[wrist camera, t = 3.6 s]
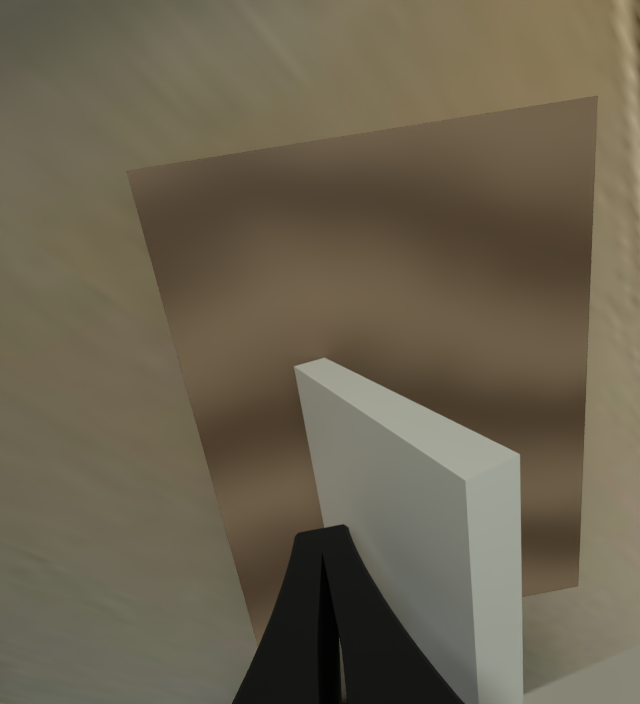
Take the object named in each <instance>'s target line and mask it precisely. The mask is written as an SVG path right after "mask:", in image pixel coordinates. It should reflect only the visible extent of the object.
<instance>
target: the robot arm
mask: <svg viewBox="0 0 640 704" xmlns="http://www.w3.org/2000/svg"><path fill="white" fill-rule="evenodd" d="M339 638H340V643H341V648H342V655H343V664H344V674H345V683H346V692H347V702H348V704H465V703H464V702H463V701H462V700H461V699H460V698H459V696H458V695H457V694H456V693H455V692H454V691H453V689H452V688H451V687H450V686H449V685H448V683H447V682H446V681H445V680H444V679H443V677H442V676H441V675H440V674H439V672H438V671H437V670H436V669H435V668H434V666H433V665H432V664H431V662H430V661H429V660H428V659H427V657H426V656H425V655H424V654H423V652H422V651H421V650H420V648H419V647H418V646H417V644H416V643H415V642H414V640H413V639H412V638H411V636H410V635H409V634H408V632H407V631H406V629H405V628H404V627H403V625H402V624H401V622H400V621H399V619H398V618H397V616H396V615H395V614H394V612H393V611H392V609H391V608H390V606H389V605H388V603H387V601H386V600H385V598H384V597H383V595H382V594H381V592H380V590H379V589H378V587H377V585H376V584H375V582H374V580H373V579H372V577H371V575H370V574H369V572H368V570H367V568H366V567H365V565H364V563H363V561H362V559H361V557H360V555H359V553H358V551H357V549H356V547H355V544H354V542H353V540H352V537H351V534H350V531H349V527H347V526H346V525H344V524H342V525H336V526H331V527H326V528H320V529H315V530H310V531H304V532H299V533H297V535H296V536H295V538H294V543H293V548H292V552H291V556H290V560H289V563H288V567H287V570H286V573H285V577H284V580H283V583H282V586H281V589H280V592H279V594H278V597H277V600H276V603H275V606H274V609H273V612H272V614H271V617H270V619H269V622H268V624H267V627H266V629H265V632H264V634H263V636H262V639H261V641H260V644H259V646H258V649H257V651H256V653H255V656H254V658H253V660H252V662H251V665H250V667H249V669H248V671H247V673H246V676H245V678H244V680H243V682H242V684H241V686H240V688H239V690H238V692H237V694H236V696H235V698H234V700H233V702H232V704H342V695H341V673H340V652H339Z"/></svg>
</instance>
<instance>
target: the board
mask: <svg viewBox="0 0 640 704" xmlns="http://www.w3.org/2000/svg"><path fill="white" fill-rule="evenodd" d="M597 101H598V96H593V97H587V98H581V99H574V100H568V101H562V102H556V103H549V104H543V105H537V106H530V107H524V108H518V109H512V110H505V111H499V112H493V113H486V114H480V115H474V116H468V117H461V118H455V119H449V120H443V121H436V122H430V123H424V124H417V125H411V126H405V127H399V128H392V129H386V130H380V131H374V132H367V133H361V134H355V135H348V136H342V137H336V138H330V139H323V140H317V141H311V142H304V143H298V144H292V145H286V146H279V147H273V148H267V149H261V150H254V151H248V152H242V153H235V154H229V155H223V156H217V157H210V158H204V159H198V160H192V161H185V162H179V163H173V164H166V165H160V166H154V167H148V168H141V169H135V170H129V171H126V172H127V175H128V179H129V182H130V186H131V190H132V193H133V197H134V201H135V204H136V208H137V211H138V215H139V219H140V222H141V226H142V229H143V233H144V237H145V240H146V244H147V247H148V251H149V255H150V258H151V262H152V266H153V269H154V273H155V276H156V280H157V284H158V287H159V291H160V294H161V298H162V302H163V305H164V309H165V312H166V316H167V320H168V323H169V327H170V331H171V334H172V338H173V341H174V345H175V349H176V352H177V356H178V359H179V363H180V367H181V370H182V374H183V377H184V381H185V385H186V388H187V392H188V396H189V399H190V403H191V406H192V410H193V414H194V417H195V421H196V424H197V428H198V432H199V435H200V439H201V442H202V446H203V450H204V453H205V457H206V461H207V464H208V468H209V471H210V475H211V479H212V482H213V486H214V489H215V493H216V497H217V500H218V504H219V507H220V511H221V515H222V518H223V522H224V526H225V529H226V533H227V536H228V540H229V544H230V547H231V551H232V554H233V558H234V562H235V565H236V569H237V572H238V576H239V580H240V583H241V587H242V591H243V594H244V598H245V601H246V605H247V609H248V612H249V616H250V619H251V623H252V627H253V630H254V634H255V638H256V641H257V645H258V646H259V644H260V641H261V639H262V636H263V634H264V632H265V629H266V627H267V624H268V622H269V619H270V617H271V614H272V612H273V609H274V606H275V603H276V600H277V597H278V594H279V592H280V589H281V586H282V583H283V580H284V577H285V573H286V570H287V567H288V563H289V560H290V556H291V552H292V548H293V543H294V538H295V536H296V535H297V533H299V532H304V531H310V530H315V529H320V528H324V524H323V518H322V513H321V508H320V502H319V497H318V492H317V486H316V481H315V476H314V471H313V465H312V460H311V455H310V449H309V444H308V439H307V433H306V428H305V423H304V417H303V412H302V407H301V402H300V396H299V391H298V386H297V380H296V375H295V370H294V366H297V365H300V364H304V363H307V362H311V361H314V360H318V359H321V358H326V359H328V360H330V361H332V362H334V363H336V364H339V365H341V366H343V367H345V368H347V369H349V370H351V371H353V372H355V373H357V374H359V375H361V376H363V377H365V378H367V379H369V380H371V381H373V382H375V383H377V384H379V385H381V386H383V387H385V388H387V389H389V390H391V391H393V392H395V393H397V394H399V395H401V396H403V397H405V398H407V399H409V400H411V401H413V402H415V403H417V404H420V405H422V406H424V407H426V408H428V409H430V410H432V411H434V412H436V413H438V414H440V415H442V416H444V417H446V418H448V419H450V420H452V421H454V422H456V423H458V424H460V425H462V426H464V427H466V428H468V429H470V430H472V431H474V432H476V433H478V434H480V435H482V436H484V437H486V438H488V439H490V440H492V441H494V442H496V443H498V444H501V445H503V446H505V447H507V448H509V449H511V450H513V451H515V452H517V453H519V454H520V494H521V570H522V597H524V596H530V595H535V594H540V593H545V592H551V591H556V590H561V589H566V588H571V587H577V586H578V577H579V552H580V527H581V502H582V477H583V452H584V427H585V402H586V377H587V352H588V326H589V301H590V276H591V251H592V226H593V201H594V176H595V151H596V126H597Z"/></svg>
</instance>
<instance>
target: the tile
mask: <svg viewBox="0 0 640 704" xmlns="http://www.w3.org/2000/svg"><path fill="white" fill-rule="evenodd" d="M294 370H295V375H296V380H297V386H298V391H299V396H300V402H301V407H302V412H303V417H304V423H305V428H306V433H307V439H308V444H309V449H310V455H311V460H312V465H313V471H314V476H315V481H316V486H317V492H318V497H319V502H320V508H321V513H322V518H323V524H324V528H326V527H331V526H336V525H342V524H344V525H346V526H347V527H349V531H350V534H351V537H352V540H353V542H354V544H355V547H356V549H357V551H358V553H359V555H360V557H361V559H362V561H363V563H364V565H365V567H366V568H367V570H368V572H369V574H370V575H371V577H372V579H373V580H374V582H375V584H376V585H377V587H378V589H379V590H380V592H381V594H382V595H383V597H384V598H385V600H386V601H387V603H388V605H389V606H390V608H391V609H392V611H393V612H394V614H395V615H396V616H397V618H398V619H399V621H400V622H401V624H402V625H403V627H404V628H405V629H406V631H407V632H408V634H409V635H410V636H411V638H412V639H413V640H414V642H415V643H416V644H417V646H418V647H419V648H420V650H421V651H422V652H423V654H424V655H425V656H426V657H427V659H428V660H429V661H430V662H431V664H432V665H433V666H434V668H435V669H436V670H437V671H438V672H439V674H440V675H441V676H442V677H443V679H444V680H445V681H446V682H447V683H448V685H449V686H450V687H451V688H452V689H453V691H454V692H455V693H456V694H457V695H458V696H459V698H460V699H461V700H462V701H463V702H464V703H465V704H523V646H522V570H521V494H520V454H519V453H517V452H515V451H513V450H511V449H509V448H507V447H505V446H503V445H501V444H498V443H496V442H494V441H492V440H490V439H488V438H486V437H484V436H482V435H480V434H478V433H476V432H474V431H472V430H470V429H468V428H466V427H464V426H462V425H460V424H458V423H456V422H454V421H452V420H450V419H448V418H446V417H444V416H442V415H440V414H438V413H436V412H434V411H432V410H430V409H428V408H426V407H424V406H422V405H420V404H417V403H415V402H413V401H411V400H409V399H407V398H405V397H403V396H401V395H399V394H397V393H395V392H393V391H391V390H389V389H387V388H385V387H383V386H381V385H379V384H377V383H375V382H373V381H371V380H369V379H367V378H365V377H363V376H361V375H359V374H357V373H355V372H353V371H351V370H349V369H347V368H345V367H343V366H341V365H339V364H336V363H334V362H332V361H330V360H328V359H326V358H321V359H318V360H314V361H311V362H307V363H304V364H300V365H297V366H294Z"/></svg>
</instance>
